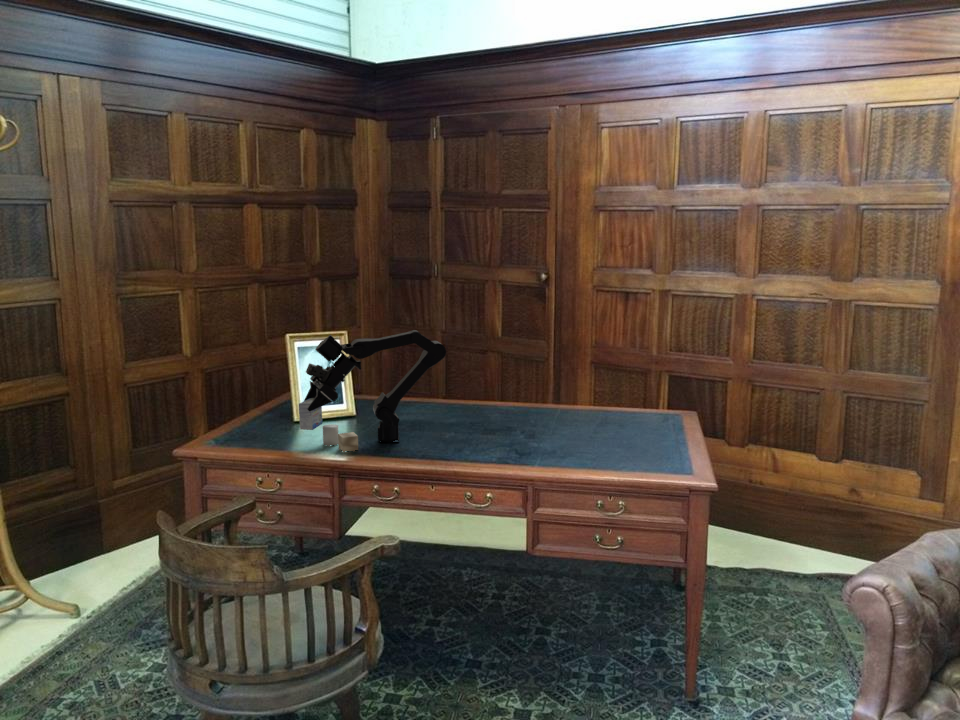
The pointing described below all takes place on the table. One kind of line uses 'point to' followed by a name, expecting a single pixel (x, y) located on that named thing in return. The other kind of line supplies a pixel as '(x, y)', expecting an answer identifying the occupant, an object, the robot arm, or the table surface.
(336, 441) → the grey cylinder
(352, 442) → the beech cube
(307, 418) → the medicine box
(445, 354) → the robot arm
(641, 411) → the table surface
